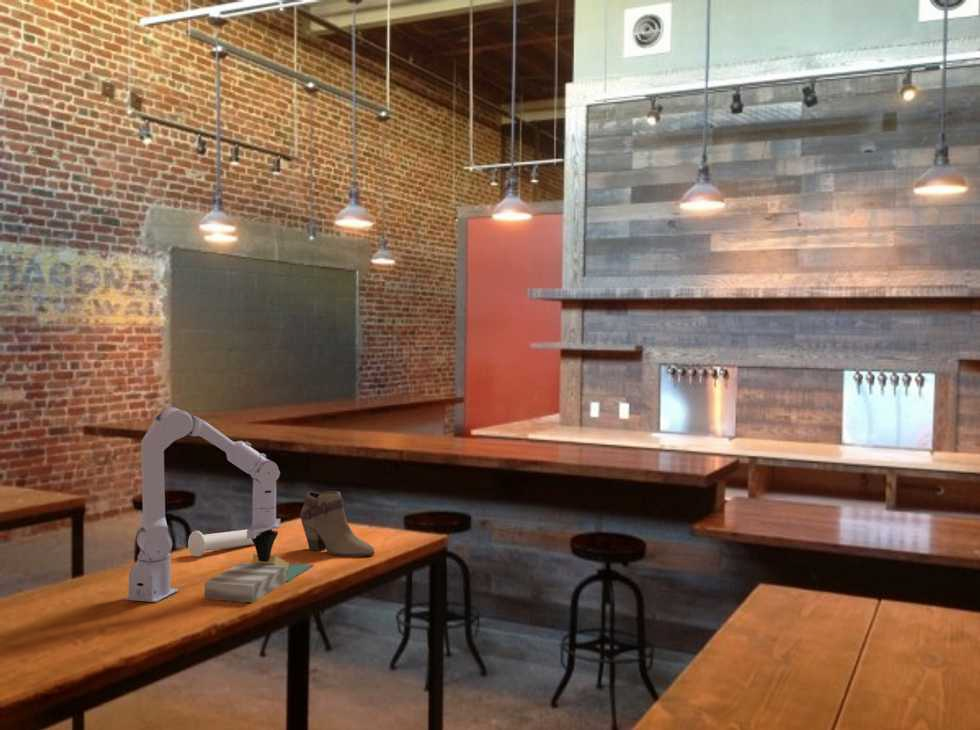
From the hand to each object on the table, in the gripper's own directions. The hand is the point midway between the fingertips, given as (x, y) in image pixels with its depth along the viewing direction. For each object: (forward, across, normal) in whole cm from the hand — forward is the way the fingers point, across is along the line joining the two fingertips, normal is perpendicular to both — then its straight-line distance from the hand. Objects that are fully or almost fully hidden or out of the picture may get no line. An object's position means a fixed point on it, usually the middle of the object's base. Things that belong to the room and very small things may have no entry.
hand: (263, 560), depth 217 cm
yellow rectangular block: (+3, +4, 0) cm, 5 cm away
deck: (+5, -9, 0) cm, 10 cm away
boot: (+5, +32, -7) cm, 33 cm away
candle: (+1, +16, +28) cm, 33 cm away
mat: (+5, +8, 0) cm, 9 cm away
